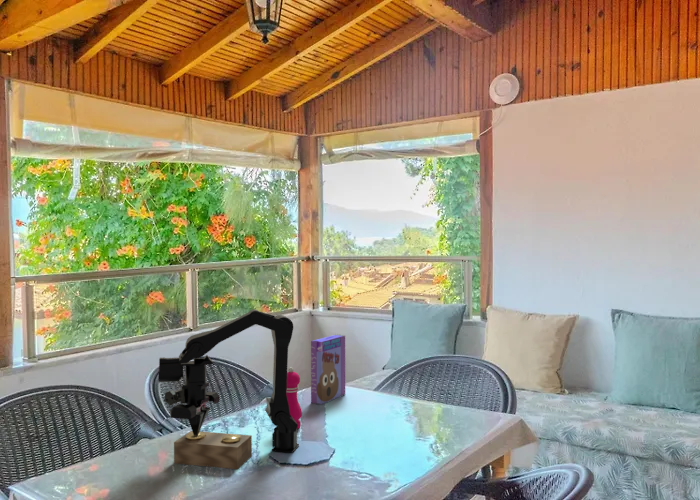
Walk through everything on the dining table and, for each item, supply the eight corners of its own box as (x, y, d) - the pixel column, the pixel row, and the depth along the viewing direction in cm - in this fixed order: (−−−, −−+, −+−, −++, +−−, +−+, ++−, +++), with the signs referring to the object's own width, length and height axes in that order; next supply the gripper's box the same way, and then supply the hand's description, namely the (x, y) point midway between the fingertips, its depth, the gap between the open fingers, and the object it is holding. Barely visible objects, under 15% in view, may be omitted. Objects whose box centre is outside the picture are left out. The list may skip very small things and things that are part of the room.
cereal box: (321, 404, 225) (321, 341, 225) (311, 403, 228) (310, 340, 227) (345, 394, 240) (345, 335, 240) (335, 392, 243) (335, 334, 242)
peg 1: (208, 454, 172) (208, 432, 172) (199, 460, 167) (199, 438, 167) (191, 452, 174) (191, 430, 173) (182, 459, 168) (182, 436, 168)
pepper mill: (298, 431, 194) (298, 370, 194) (277, 429, 196) (277, 369, 195) (304, 424, 201) (304, 365, 201) (284, 423, 203) (283, 364, 202)
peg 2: (243, 457, 170) (243, 435, 170) (236, 464, 165) (236, 441, 165) (226, 455, 171) (226, 433, 171) (218, 462, 166) (218, 439, 166)
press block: (251, 456, 172) (251, 435, 172) (237, 469, 162) (237, 447, 162) (191, 450, 176) (191, 430, 176) (174, 463, 166) (173, 441, 166)
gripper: (186, 371, 181) (186, 422, 181) (152, 386, 163) (152, 443, 163) (220, 373, 178) (220, 425, 179) (189, 388, 160) (189, 446, 160)
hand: (195, 434), depth 170 cm, fingers closed, pressing on peg 1
